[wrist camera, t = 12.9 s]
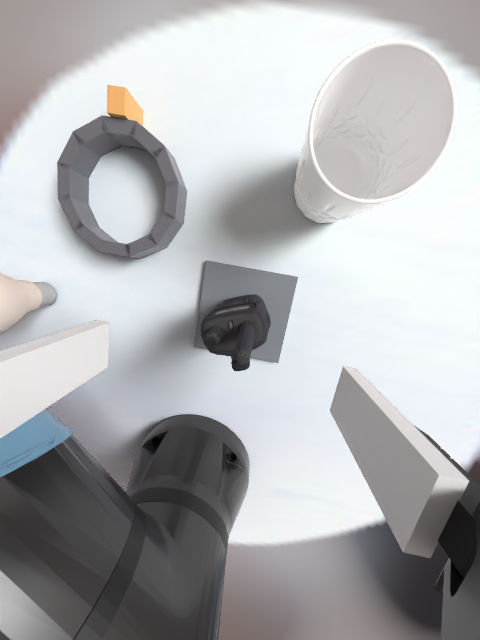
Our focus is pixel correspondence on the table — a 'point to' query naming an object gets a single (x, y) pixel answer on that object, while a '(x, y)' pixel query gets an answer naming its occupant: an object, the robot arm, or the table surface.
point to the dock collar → (84, 157)
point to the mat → (246, 281)
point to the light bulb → (21, 299)
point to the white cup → (374, 130)
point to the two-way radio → (236, 329)
